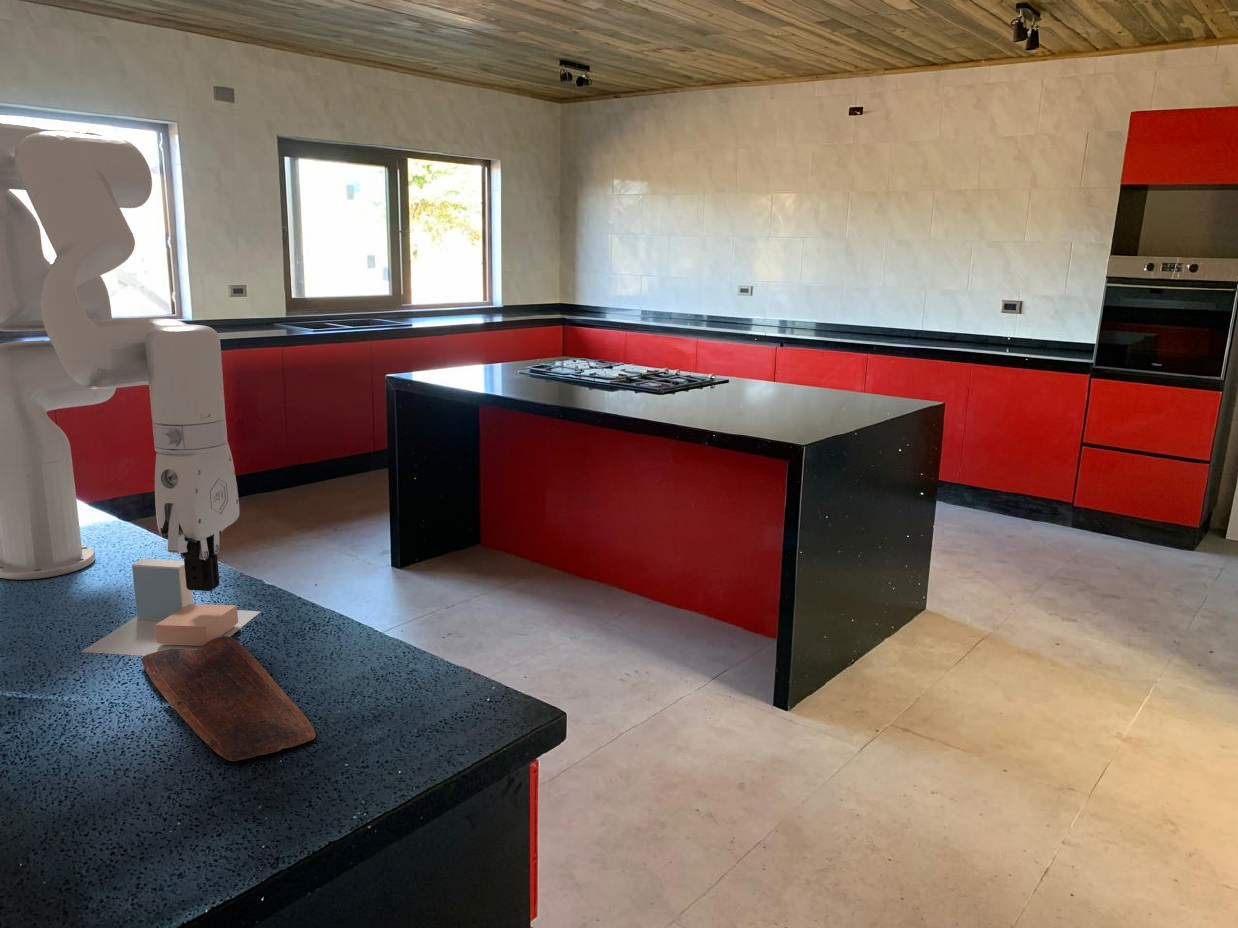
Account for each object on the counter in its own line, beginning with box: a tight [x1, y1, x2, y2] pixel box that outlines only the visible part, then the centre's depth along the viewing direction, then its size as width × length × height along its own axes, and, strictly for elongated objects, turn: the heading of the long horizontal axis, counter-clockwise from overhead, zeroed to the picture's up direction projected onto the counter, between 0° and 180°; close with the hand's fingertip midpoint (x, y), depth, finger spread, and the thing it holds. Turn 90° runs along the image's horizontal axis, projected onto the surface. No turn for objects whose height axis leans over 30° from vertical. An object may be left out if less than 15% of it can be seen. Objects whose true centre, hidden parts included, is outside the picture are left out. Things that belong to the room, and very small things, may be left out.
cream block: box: [131, 558, 194, 620], centre depth 110 cm, size 6×2×7 cm, turn 85°
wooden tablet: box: [140, 636, 317, 762], centre depth 92 cm, size 26×2×10 cm
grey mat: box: [81, 609, 261, 657], centre depth 107 cm, size 14×14×1 cm
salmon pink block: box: [155, 603, 238, 646], centre depth 106 cm, size 6×2×7 cm
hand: (203, 587), depth 106 cm, fingers closed
